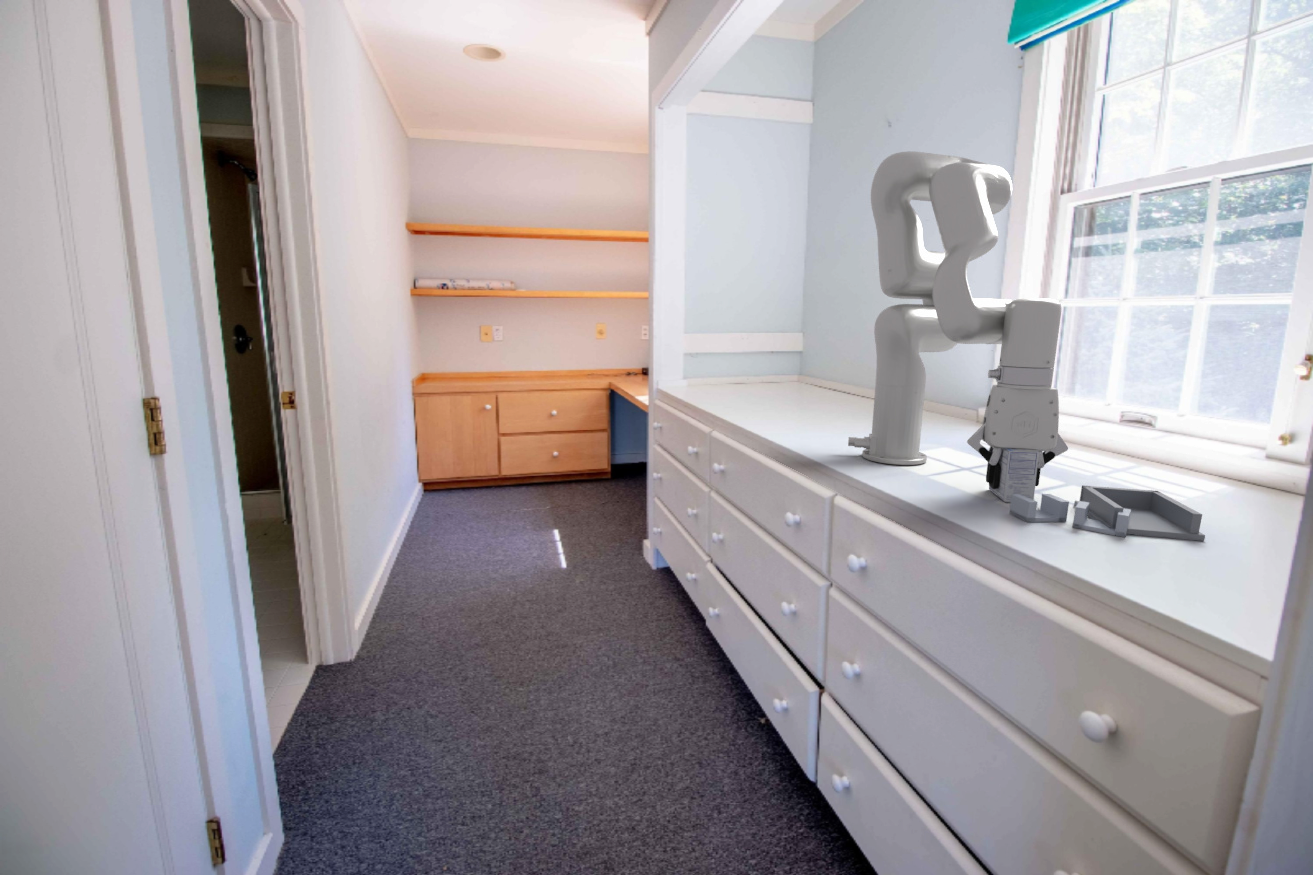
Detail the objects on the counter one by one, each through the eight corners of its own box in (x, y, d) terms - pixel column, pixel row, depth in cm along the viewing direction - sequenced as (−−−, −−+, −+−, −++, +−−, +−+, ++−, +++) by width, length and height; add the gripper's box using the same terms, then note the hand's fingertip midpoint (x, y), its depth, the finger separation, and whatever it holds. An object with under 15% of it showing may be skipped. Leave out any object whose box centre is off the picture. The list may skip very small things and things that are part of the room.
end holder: (1108, 532, 85) (1112, 508, 84) (1074, 505, 97) (1077, 484, 97) (1204, 541, 82) (1208, 515, 81) (1156, 512, 94) (1159, 490, 94)
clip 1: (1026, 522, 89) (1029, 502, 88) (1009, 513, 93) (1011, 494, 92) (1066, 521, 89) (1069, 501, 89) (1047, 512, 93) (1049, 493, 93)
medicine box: (1033, 504, 98) (1040, 451, 96) (1003, 502, 98) (1009, 449, 97) (1015, 491, 105) (1022, 441, 104) (987, 489, 106) (993, 440, 104)
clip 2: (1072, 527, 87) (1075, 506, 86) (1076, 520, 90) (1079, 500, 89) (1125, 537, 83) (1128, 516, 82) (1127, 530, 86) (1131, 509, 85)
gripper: (971, 378, 97) (959, 490, 100) (1095, 382, 92) (1078, 499, 96) (961, 374, 104) (950, 478, 107) (1076, 377, 99) (1061, 487, 103)
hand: (1011, 487), depth 102 cm, fingers closed on medicine box, 4 cm apart
